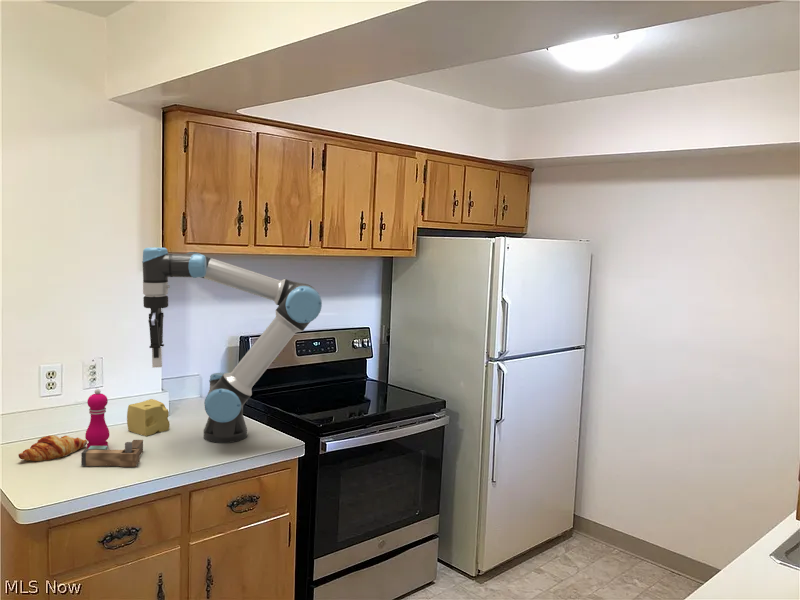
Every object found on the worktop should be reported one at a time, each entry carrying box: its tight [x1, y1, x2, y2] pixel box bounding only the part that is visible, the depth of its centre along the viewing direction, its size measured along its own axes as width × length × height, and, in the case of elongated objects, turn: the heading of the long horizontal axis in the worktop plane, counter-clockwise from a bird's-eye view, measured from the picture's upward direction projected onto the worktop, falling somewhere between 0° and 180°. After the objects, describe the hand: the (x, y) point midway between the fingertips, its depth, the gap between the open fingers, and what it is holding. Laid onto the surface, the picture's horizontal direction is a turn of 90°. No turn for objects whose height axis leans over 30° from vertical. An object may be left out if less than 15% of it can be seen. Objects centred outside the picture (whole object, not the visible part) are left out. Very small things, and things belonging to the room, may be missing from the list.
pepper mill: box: [84, 388, 110, 449], centre depth 212 cm, size 7×7×20 cm
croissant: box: [18, 434, 88, 462], centre depth 205 cm, size 21×10×8 cm, turn 146°
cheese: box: [126, 398, 171, 437], centre depth 233 cm, size 10×11×10 cm
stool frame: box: [88, 439, 144, 456], centre depth 204 cm, size 14×13×7 cm
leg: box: [80, 448, 141, 468], centre depth 199 cm, size 16×5×4 cm, turn 98°
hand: (157, 366), depth 211 cm, fingers closed
